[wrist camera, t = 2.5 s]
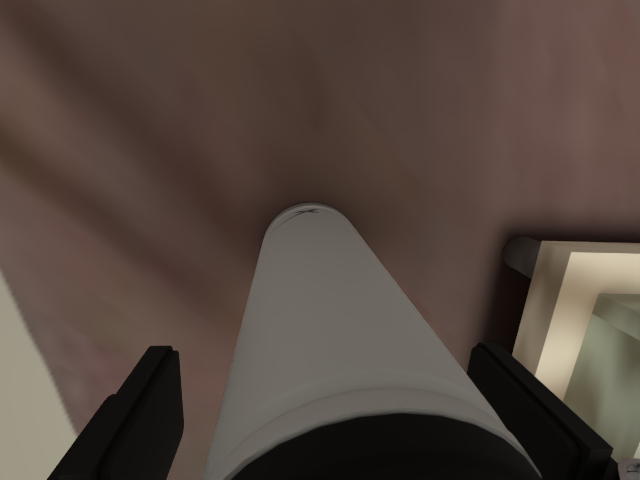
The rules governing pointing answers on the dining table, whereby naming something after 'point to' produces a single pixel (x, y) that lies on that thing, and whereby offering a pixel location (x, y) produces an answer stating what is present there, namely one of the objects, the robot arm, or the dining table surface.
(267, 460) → the travel mug
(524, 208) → the dining table surface
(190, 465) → the dining table surface
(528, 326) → the framed shelf
